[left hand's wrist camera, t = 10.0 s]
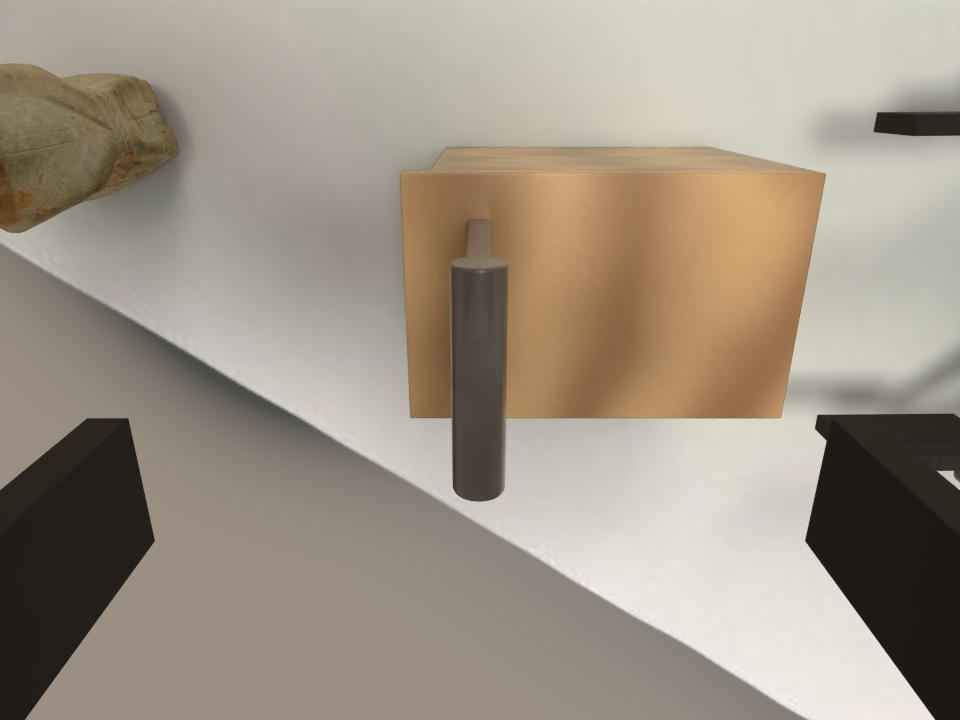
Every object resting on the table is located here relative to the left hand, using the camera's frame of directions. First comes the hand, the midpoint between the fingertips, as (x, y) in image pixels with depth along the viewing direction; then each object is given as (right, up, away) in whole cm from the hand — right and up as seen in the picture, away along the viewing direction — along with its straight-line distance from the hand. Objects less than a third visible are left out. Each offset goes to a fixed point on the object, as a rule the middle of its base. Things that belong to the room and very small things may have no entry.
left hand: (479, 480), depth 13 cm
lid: (+4, +5, +12) cm, 13 cm away
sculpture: (-18, +13, +20) cm, 30 cm away
